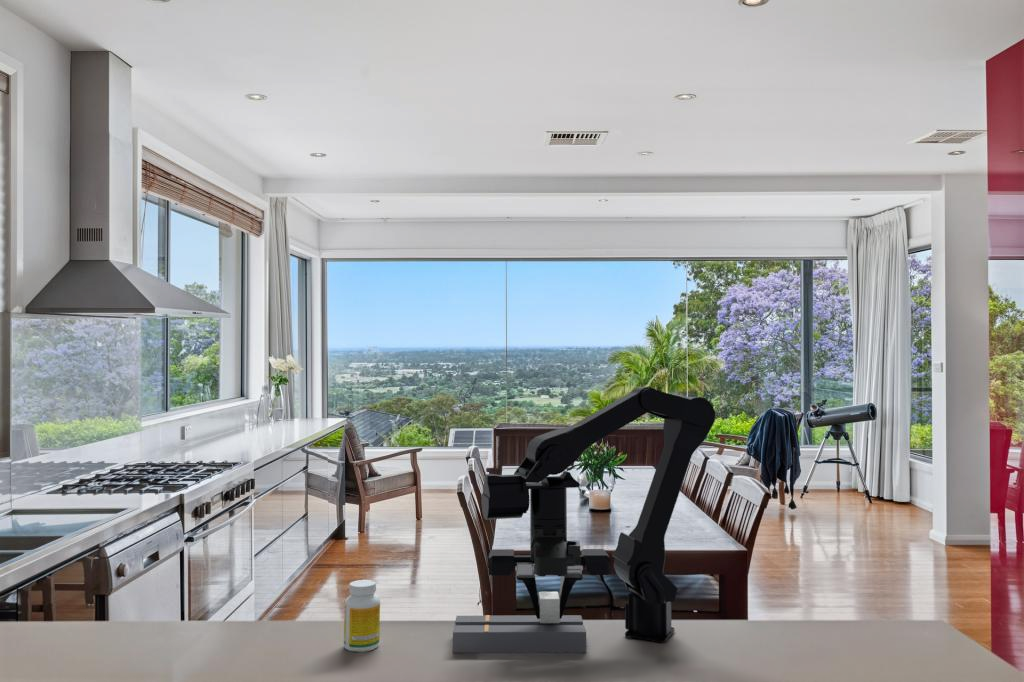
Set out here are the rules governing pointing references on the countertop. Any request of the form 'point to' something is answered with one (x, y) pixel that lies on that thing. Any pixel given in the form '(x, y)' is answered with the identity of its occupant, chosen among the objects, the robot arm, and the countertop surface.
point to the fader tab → (549, 607)
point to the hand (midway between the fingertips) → (549, 618)
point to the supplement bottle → (362, 617)
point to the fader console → (518, 634)
